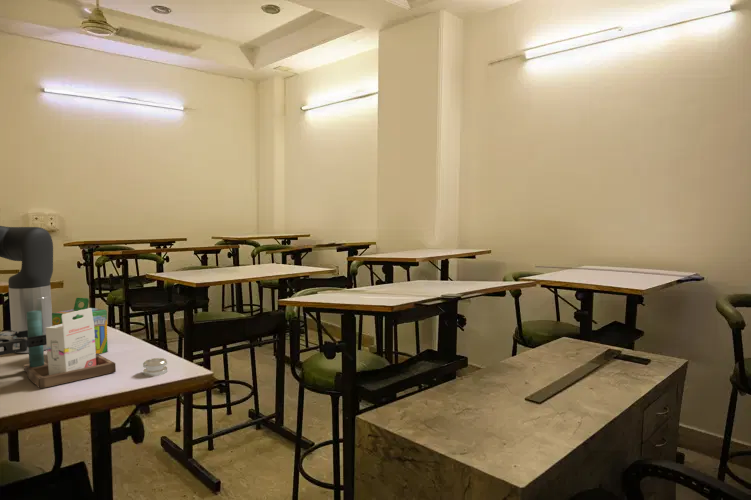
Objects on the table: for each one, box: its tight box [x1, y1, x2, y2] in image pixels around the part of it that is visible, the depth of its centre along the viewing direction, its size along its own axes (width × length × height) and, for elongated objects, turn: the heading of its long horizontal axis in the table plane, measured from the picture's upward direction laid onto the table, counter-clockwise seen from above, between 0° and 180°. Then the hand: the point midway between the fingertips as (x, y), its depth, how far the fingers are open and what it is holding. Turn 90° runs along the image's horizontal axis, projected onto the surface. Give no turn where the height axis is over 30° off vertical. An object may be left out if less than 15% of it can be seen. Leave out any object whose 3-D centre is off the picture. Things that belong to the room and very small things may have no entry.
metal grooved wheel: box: [142, 357, 168, 377], centre depth 111 cm, size 5×3×5 cm
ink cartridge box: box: [46, 307, 96, 375], centre depth 109 cm, size 9×5×15 cm, turn 166°
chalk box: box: [52, 297, 109, 355], centre depth 126 cm, size 9×9×15 cm
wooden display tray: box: [23, 311, 117, 389], centre depth 112 cm, size 18×15×14 cm
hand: (42, 336), depth 113 cm, fingers open, 8 cm apart
